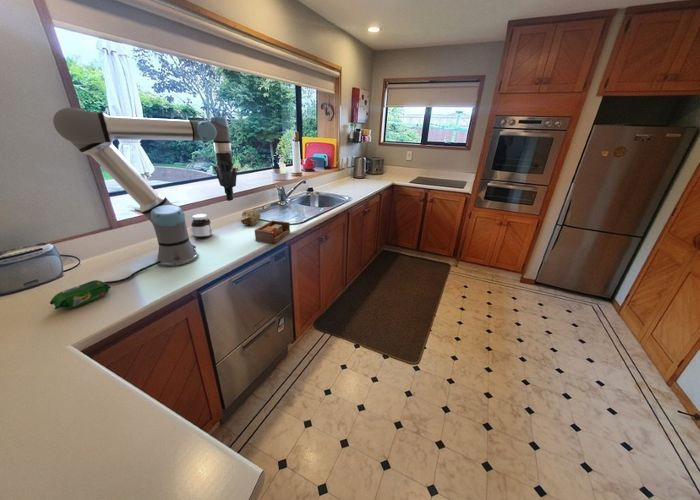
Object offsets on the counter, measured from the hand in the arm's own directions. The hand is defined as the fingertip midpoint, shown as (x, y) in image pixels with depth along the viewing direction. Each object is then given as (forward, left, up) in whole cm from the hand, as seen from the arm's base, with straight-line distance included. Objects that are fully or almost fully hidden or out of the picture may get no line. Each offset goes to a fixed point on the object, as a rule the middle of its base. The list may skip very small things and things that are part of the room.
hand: (230, 200), depth 145 cm
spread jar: (-5, +18, -21) cm, 28 cm away
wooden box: (+8, -19, -20) cm, 29 cm away
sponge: (+26, +8, -21) cm, 34 cm away
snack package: (-68, +9, -21) cm, 72 cm away
